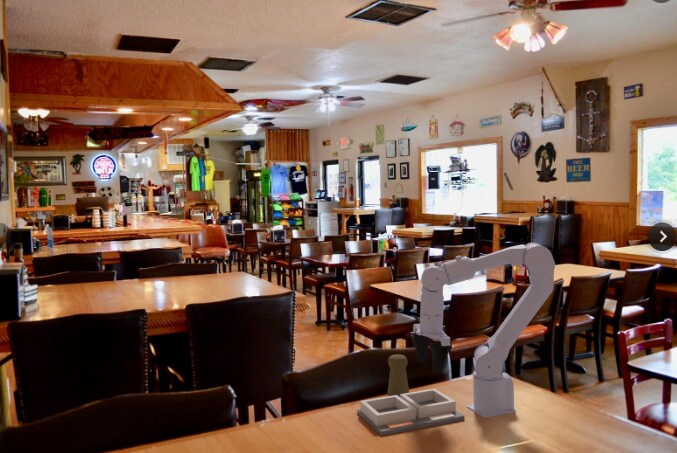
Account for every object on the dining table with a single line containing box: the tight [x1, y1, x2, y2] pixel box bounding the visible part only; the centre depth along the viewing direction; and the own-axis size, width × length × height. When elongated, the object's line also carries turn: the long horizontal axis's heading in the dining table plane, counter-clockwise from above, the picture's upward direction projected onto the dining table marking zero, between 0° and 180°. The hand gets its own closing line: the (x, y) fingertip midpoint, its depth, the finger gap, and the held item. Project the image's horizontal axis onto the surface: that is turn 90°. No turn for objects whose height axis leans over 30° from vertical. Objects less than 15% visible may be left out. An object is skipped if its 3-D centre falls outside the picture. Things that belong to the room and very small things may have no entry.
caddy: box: [356, 388, 465, 437], centre depth 135 cm, size 22×14×4 cm, turn 111°
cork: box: [386, 354, 410, 397], centre depth 149 cm, size 6×6×11 cm
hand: (429, 366), depth 140 cm, fingers open, 7 cm apart
